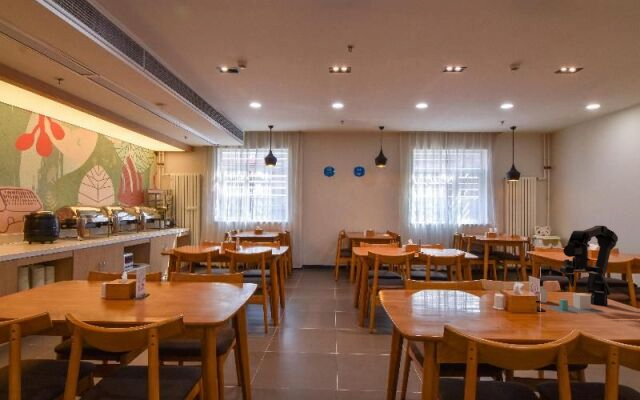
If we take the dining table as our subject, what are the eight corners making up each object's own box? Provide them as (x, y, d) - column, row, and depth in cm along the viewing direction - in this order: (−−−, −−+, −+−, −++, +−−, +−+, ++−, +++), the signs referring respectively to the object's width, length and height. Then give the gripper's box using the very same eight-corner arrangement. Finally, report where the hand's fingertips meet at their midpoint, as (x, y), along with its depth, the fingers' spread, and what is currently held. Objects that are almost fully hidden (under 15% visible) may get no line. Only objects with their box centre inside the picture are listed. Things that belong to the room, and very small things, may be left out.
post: (564, 309, 198) (564, 299, 198) (568, 310, 195) (567, 300, 195) (559, 309, 198) (559, 299, 198) (562, 310, 195) (562, 300, 195)
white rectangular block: (583, 306, 204) (583, 293, 204) (590, 309, 199) (590, 295, 199) (573, 306, 204) (573, 293, 204) (580, 309, 199) (579, 295, 199)
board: (586, 307, 205) (586, 306, 205) (606, 314, 191) (606, 312, 191) (543, 306, 206) (543, 305, 206) (559, 313, 192) (559, 312, 192)
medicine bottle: (541, 300, 221) (540, 278, 221) (547, 303, 214) (546, 280, 214) (527, 300, 221) (527, 278, 222) (532, 303, 214) (532, 280, 215)
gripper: (589, 254, 210) (590, 284, 210) (553, 254, 210) (553, 284, 210) (604, 256, 199) (604, 288, 199) (565, 256, 199) (566, 288, 199)
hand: (581, 287), depth 202 cm, fingers open, 9 cm apart
